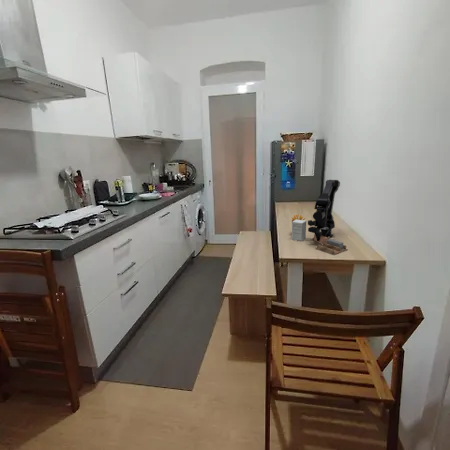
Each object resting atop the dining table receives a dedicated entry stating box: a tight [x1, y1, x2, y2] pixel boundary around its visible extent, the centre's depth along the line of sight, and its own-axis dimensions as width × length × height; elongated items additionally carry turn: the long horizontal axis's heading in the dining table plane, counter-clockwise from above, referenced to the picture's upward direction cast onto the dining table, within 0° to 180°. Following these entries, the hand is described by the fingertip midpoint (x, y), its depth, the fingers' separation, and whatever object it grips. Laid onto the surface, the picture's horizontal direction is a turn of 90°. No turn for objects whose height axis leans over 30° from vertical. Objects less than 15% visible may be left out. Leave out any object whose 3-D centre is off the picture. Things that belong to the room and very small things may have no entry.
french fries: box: [291, 213, 306, 223], centre depth 184 cm, size 9×8×15 cm
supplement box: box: [291, 219, 307, 242], centre depth 175 cm, size 7×7×13 cm
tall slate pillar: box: [326, 238, 344, 250], centre depth 157 cm, size 9×4×4 cm, turn 33°
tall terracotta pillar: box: [313, 233, 328, 245], centre depth 169 cm, size 9×4×4 cm, turn 16°
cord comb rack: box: [315, 243, 349, 256], centre depth 155 cm, size 13×13×2 cm
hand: (320, 240), depth 169 cm, fingers closed on tall terracotta pillar, 4 cm apart
